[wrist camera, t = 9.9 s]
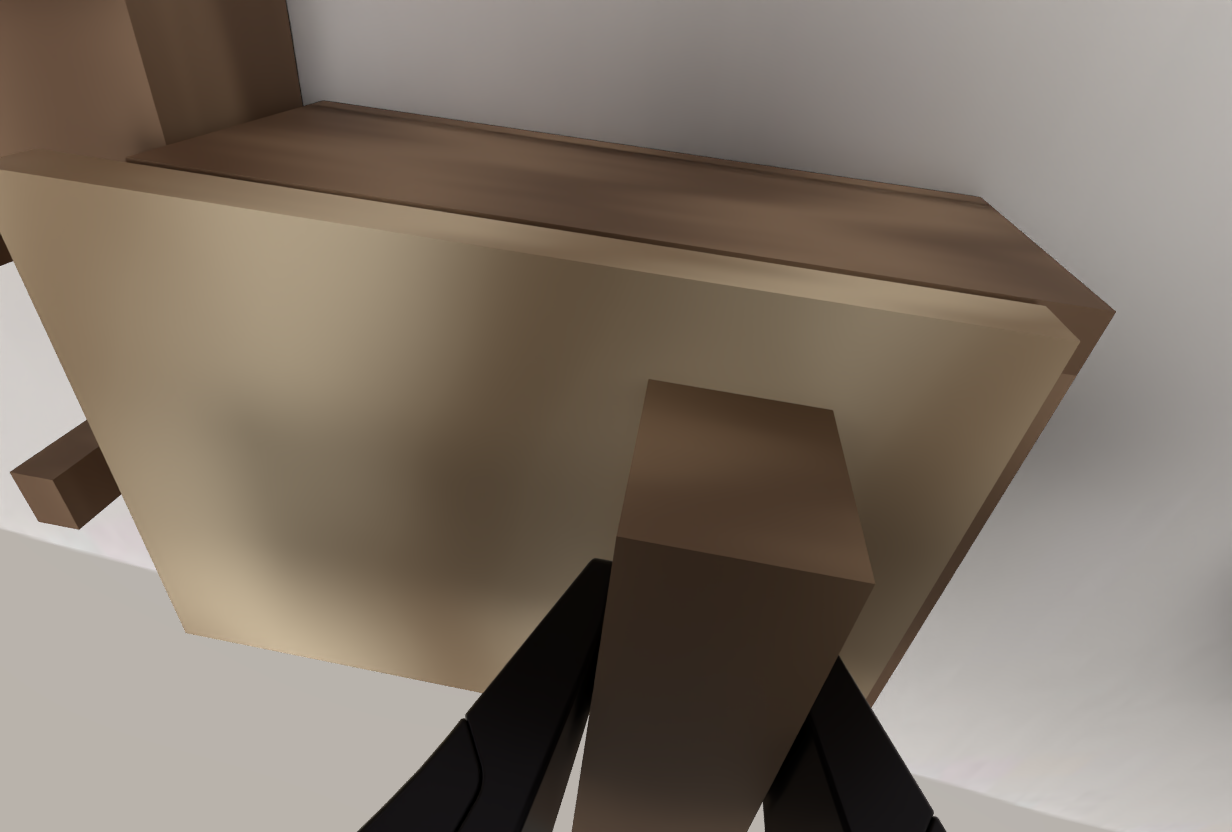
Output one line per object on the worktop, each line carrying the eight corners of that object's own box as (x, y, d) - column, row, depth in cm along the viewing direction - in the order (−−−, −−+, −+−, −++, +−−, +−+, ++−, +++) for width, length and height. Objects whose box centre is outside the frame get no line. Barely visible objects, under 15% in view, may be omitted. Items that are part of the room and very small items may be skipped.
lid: (1046, 305, 8) (1252, 517, 5) (821, 717, 14) (849, 941, 11) (37, 148, 9) (-351, 239, 6) (215, 596, 15) (71, 770, 12)
